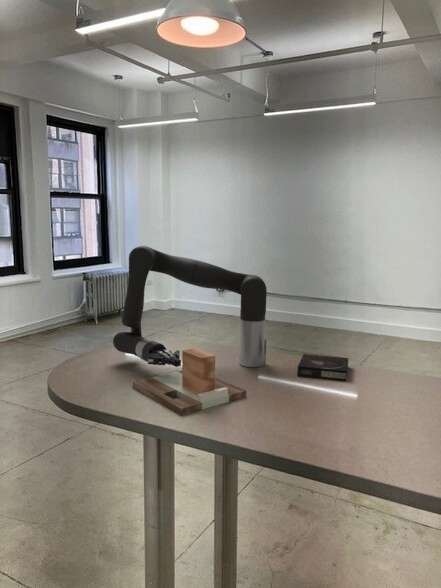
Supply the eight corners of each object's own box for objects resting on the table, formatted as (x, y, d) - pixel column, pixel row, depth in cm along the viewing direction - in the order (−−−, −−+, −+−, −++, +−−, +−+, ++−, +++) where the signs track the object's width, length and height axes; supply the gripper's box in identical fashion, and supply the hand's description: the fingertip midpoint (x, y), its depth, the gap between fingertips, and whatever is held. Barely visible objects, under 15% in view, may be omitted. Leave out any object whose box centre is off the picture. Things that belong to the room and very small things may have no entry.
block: (195, 384, 155) (195, 347, 153) (214, 393, 147) (215, 355, 146) (182, 388, 152) (182, 350, 150) (201, 397, 144) (201, 358, 142)
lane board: (193, 373, 173) (193, 362, 172) (246, 396, 151) (246, 384, 150) (132, 387, 158) (132, 375, 157) (181, 415, 136) (181, 401, 136)
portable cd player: (297, 377, 171) (297, 366, 170) (303, 363, 187) (303, 353, 187) (345, 383, 166) (346, 371, 166) (347, 368, 183) (348, 358, 182)
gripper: (133, 343, 165) (161, 355, 152) (166, 338, 174) (195, 348, 161) (133, 365, 167) (161, 378, 153) (166, 358, 175) (195, 371, 162)
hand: (178, 363), depth 157 cm, fingers closed
